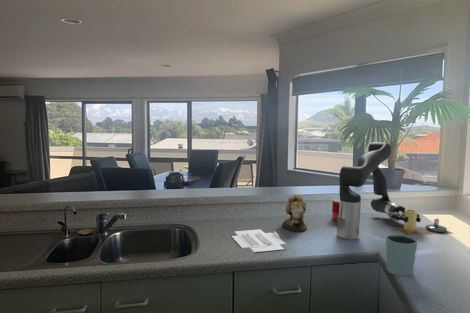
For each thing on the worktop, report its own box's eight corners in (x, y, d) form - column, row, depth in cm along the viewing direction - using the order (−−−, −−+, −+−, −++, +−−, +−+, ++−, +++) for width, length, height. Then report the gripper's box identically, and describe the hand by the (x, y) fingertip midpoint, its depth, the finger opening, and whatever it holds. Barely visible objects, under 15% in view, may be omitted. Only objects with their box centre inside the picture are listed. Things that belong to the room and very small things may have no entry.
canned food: (341, 222, 184) (342, 202, 183) (329, 219, 190) (329, 199, 189) (349, 220, 189) (350, 200, 188) (336, 216, 195) (337, 198, 194)
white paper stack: (246, 255, 138) (246, 246, 137) (227, 236, 164) (227, 228, 164) (292, 250, 144) (292, 241, 143) (266, 232, 170) (266, 225, 170)
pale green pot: (384, 274, 120) (386, 241, 119) (383, 263, 130) (385, 232, 128) (417, 279, 117) (419, 245, 115) (413, 267, 126) (415, 236, 125)
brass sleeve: (410, 233, 162) (411, 212, 161) (401, 229, 167) (402, 209, 166) (418, 231, 164) (419, 211, 163) (408, 228, 169) (410, 209, 168)
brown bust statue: (278, 222, 183) (278, 190, 181) (299, 221, 184) (300, 190, 183) (288, 233, 165) (289, 198, 163) (311, 232, 167) (312, 197, 165)
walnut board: (406, 237, 160) (407, 227, 159) (393, 230, 171) (393, 220, 170) (453, 236, 163) (454, 226, 162) (437, 229, 174) (437, 219, 173)
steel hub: (437, 233, 162) (438, 221, 161) (421, 228, 170) (421, 216, 169) (450, 231, 165) (451, 219, 164) (433, 226, 173) (434, 215, 173)
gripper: (382, 204, 179) (399, 212, 162) (409, 204, 179) (428, 212, 162) (381, 218, 179) (398, 227, 162) (408, 218, 180) (427, 227, 163)
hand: (413, 220), depth 163 cm, fingers closed on brass sleeve, 5 cm apart
